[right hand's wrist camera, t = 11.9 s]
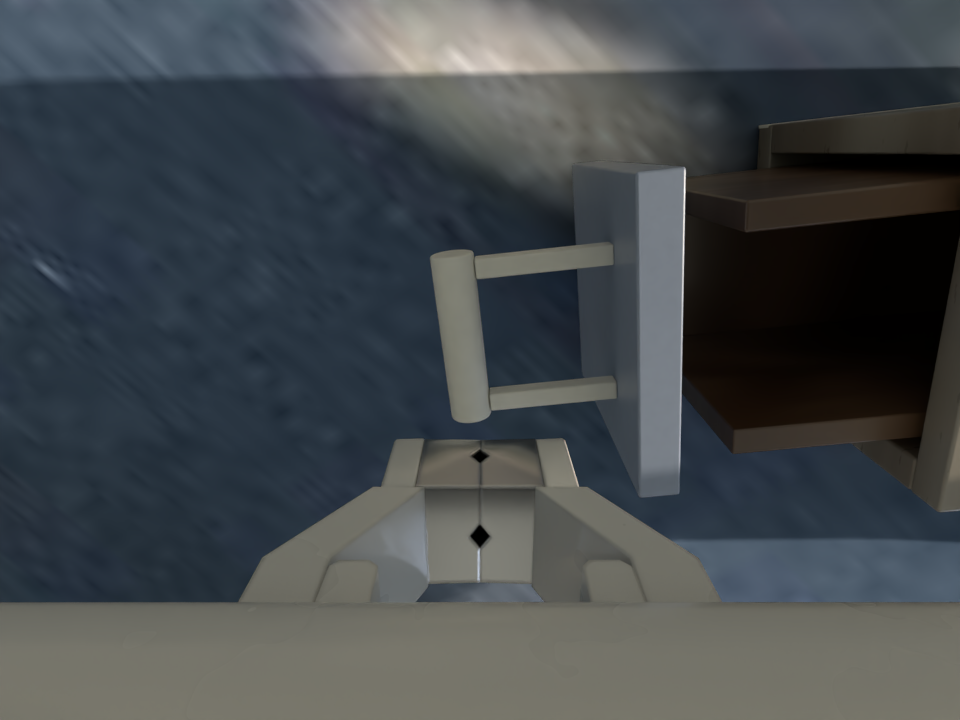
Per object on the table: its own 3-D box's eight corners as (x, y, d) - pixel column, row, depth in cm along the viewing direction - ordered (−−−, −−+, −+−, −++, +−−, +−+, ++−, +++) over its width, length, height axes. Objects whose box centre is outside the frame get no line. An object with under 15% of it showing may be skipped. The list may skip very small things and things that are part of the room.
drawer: (464, 385, 26) (455, 515, 16) (438, 178, 22) (408, 197, 13) (1043, 327, 25) (1377, 432, 15) (1100, 103, 21) (1563, 67, 12)
